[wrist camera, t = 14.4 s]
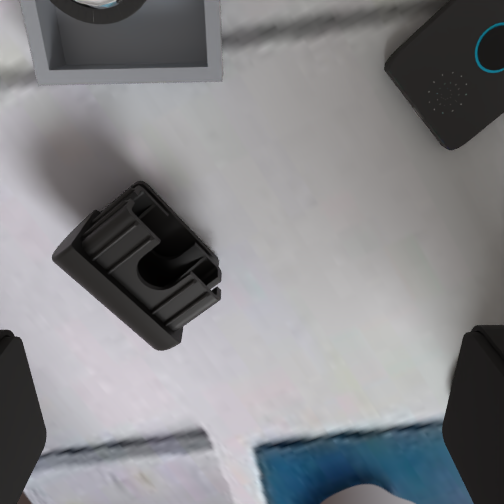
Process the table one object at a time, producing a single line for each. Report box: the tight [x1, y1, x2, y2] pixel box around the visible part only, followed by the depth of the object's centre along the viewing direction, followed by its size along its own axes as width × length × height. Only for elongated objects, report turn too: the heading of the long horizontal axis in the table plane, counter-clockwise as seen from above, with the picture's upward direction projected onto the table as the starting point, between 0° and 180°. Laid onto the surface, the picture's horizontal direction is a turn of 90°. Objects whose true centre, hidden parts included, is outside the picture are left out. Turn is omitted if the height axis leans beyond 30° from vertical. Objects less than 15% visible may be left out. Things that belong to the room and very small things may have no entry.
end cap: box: [52, 181, 222, 351], centre depth 33 cm, size 10×7×7 cm
